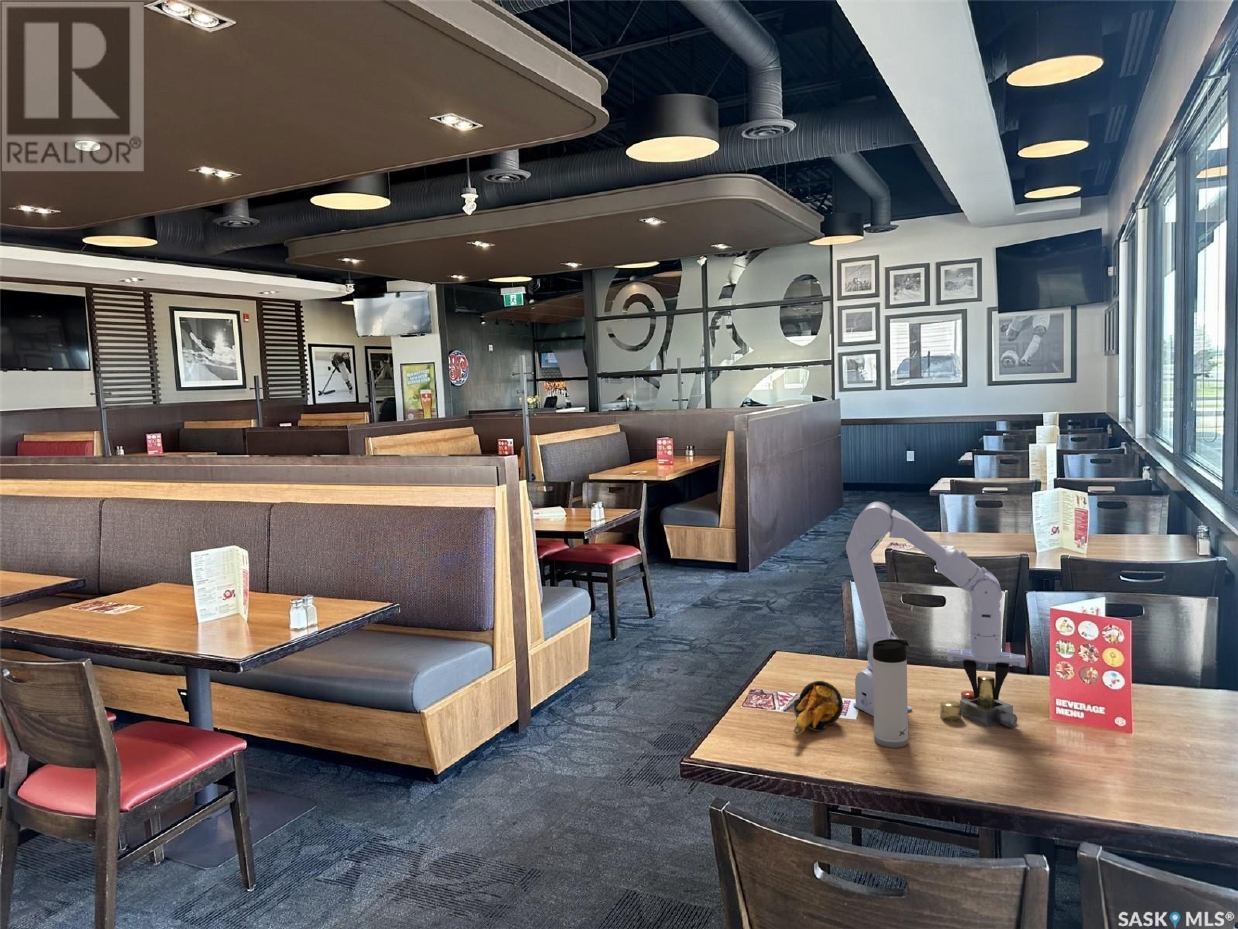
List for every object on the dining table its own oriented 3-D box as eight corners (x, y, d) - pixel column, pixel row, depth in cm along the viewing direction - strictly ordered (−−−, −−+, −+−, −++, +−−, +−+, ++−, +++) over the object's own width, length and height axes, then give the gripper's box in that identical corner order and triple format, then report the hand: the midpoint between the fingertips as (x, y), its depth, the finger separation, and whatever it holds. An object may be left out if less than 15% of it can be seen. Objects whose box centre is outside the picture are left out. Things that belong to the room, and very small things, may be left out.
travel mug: (912, 749, 153) (910, 646, 152) (876, 747, 155) (874, 645, 153) (907, 735, 159) (905, 636, 158) (872, 734, 161) (870, 636, 159)
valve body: (998, 732, 159) (998, 714, 159) (950, 710, 171) (950, 694, 170) (1025, 725, 161) (1025, 708, 161) (976, 704, 173) (976, 688, 173)
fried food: (851, 693, 171) (846, 695, 154) (830, 741, 170) (822, 749, 153) (810, 672, 174) (801, 673, 158) (789, 720, 173) (777, 725, 157)
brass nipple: (986, 710, 164) (986, 682, 163) (974, 705, 167) (973, 677, 166) (998, 707, 165) (998, 679, 164) (986, 702, 168) (985, 674, 167)
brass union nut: (950, 723, 164) (950, 709, 164) (936, 716, 168) (936, 702, 168) (965, 720, 166) (965, 705, 165) (951, 713, 169) (951, 699, 169)
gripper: (1023, 629, 166) (1024, 694, 167) (947, 624, 171) (948, 687, 172) (1026, 639, 159) (1026, 706, 160) (946, 634, 165) (947, 699, 166)
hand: (986, 697), depth 166 cm, fingers closed on brass nipple, 3 cm apart
